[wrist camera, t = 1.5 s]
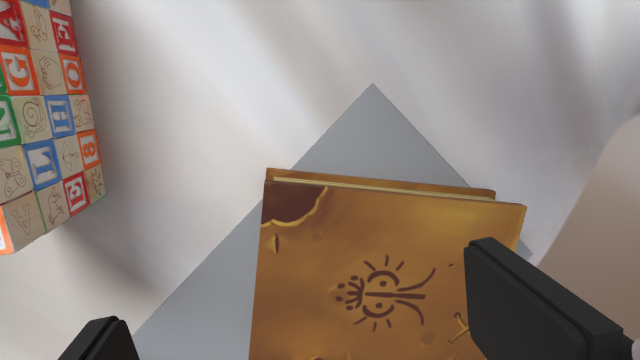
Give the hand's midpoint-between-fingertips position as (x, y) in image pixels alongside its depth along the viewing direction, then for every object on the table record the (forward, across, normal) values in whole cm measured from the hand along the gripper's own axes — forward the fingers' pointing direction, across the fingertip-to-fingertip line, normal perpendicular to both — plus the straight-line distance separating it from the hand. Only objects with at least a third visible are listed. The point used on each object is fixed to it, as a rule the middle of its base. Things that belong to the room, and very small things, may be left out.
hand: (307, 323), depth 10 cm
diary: (+25, -6, +13) cm, 29 cm away
